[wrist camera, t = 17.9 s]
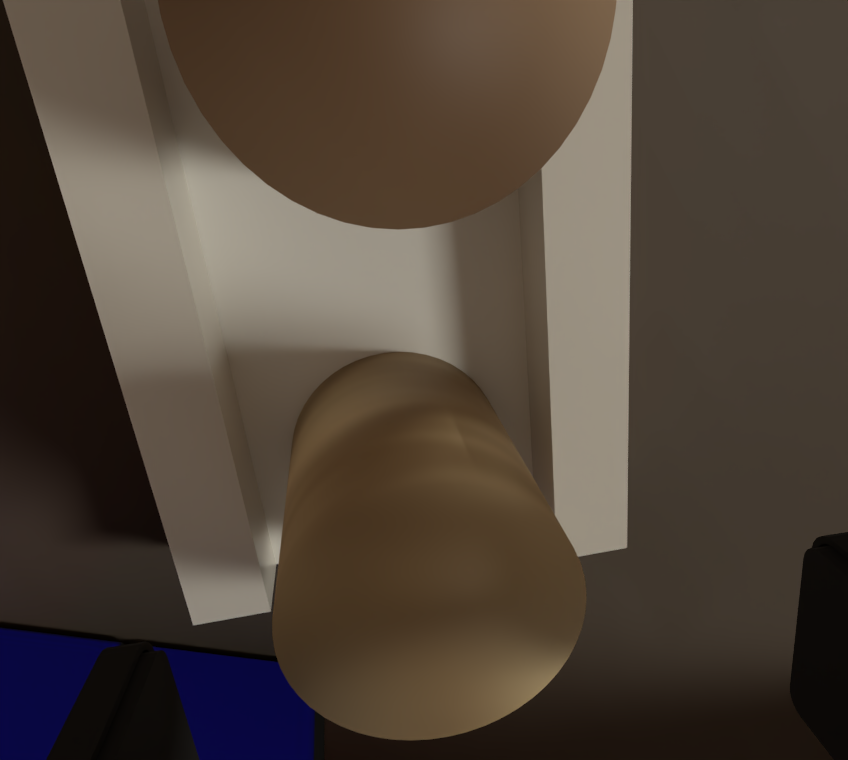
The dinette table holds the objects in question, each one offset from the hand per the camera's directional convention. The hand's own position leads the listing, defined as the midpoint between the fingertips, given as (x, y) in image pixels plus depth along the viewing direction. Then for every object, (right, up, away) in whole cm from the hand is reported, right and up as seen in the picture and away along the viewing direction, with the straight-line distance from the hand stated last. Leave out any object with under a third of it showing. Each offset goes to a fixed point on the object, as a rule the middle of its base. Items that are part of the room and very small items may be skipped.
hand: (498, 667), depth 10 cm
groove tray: (-2, +7, +5) cm, 9 cm away
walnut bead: (-2, +10, +2) cm, 10 cm away
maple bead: (-2, +3, +5) cm, 6 cm away
